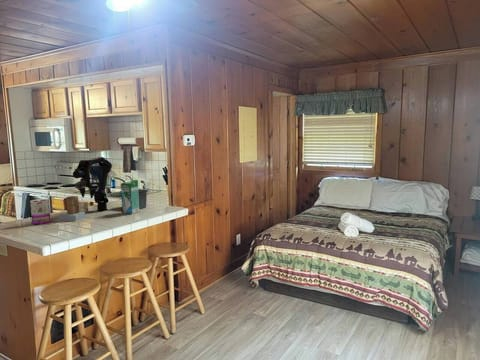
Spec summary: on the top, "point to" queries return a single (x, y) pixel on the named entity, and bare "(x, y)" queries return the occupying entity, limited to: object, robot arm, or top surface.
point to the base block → (73, 216)
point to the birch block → (83, 207)
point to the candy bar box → (40, 211)
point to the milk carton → (130, 197)
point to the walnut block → (72, 205)
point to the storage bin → (142, 198)
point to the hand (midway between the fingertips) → (87, 197)
